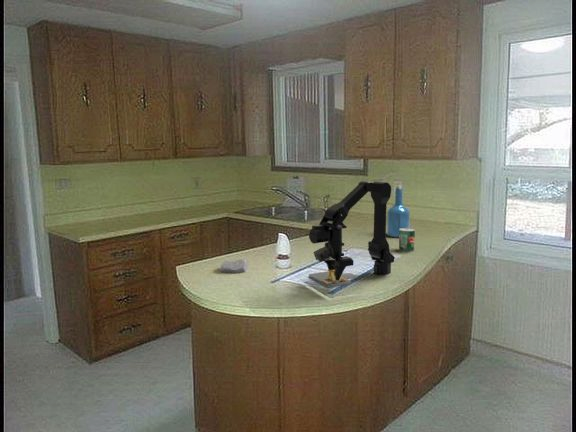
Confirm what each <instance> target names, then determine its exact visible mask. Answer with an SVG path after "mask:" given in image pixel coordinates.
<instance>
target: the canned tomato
mask: <svg viewBox="0 0 576 432" xmlns="http://www.w3.org/2000/svg"><path fill="white" fill-rule="evenodd" d="M415 232H416V229H415V228H412V227H410V228H401V229H399V239H398V241H399V242H398V250H399V252H402V253H403V252H404V253H413V252H414V251H415V244H416V243H415V241H416V234H415Z"/></svg>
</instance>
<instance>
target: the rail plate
mask: <svg viewBox="0 0 576 432" xmlns="http://www.w3.org/2000/svg"><path fill="white" fill-rule="evenodd" d="M308 277H309V278H310V279H312V280H314V281H316V282H318V283H320V284H321V285H322V286H325V287H326V288H328V289H329V288H335V287H341V286H343V287H344V286H347V285H351V284H352V281H351V280H350V279H345V278H343V277H342V281H340V282H334V283H331V281H330V280H328V270H327V271H321V272H315V273H309V274H308Z"/></svg>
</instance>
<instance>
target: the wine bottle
mask: <svg viewBox="0 0 576 432" xmlns="http://www.w3.org/2000/svg"><path fill="white" fill-rule="evenodd" d="M394 194H395V195H394V196H395V199H394V204H393V205H392V206H391V207H389V208H388V210H387V211H386V234H387V235H386V236H388V237H391V238H396V239H397V238H399V229H401V228H411V227H410V223H411V222H410V221H411V219H410V218H411V212H410V209H409V208H408V207H407V206H404V205H403V188H402V185H396V187H395V193H394Z"/></svg>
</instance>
